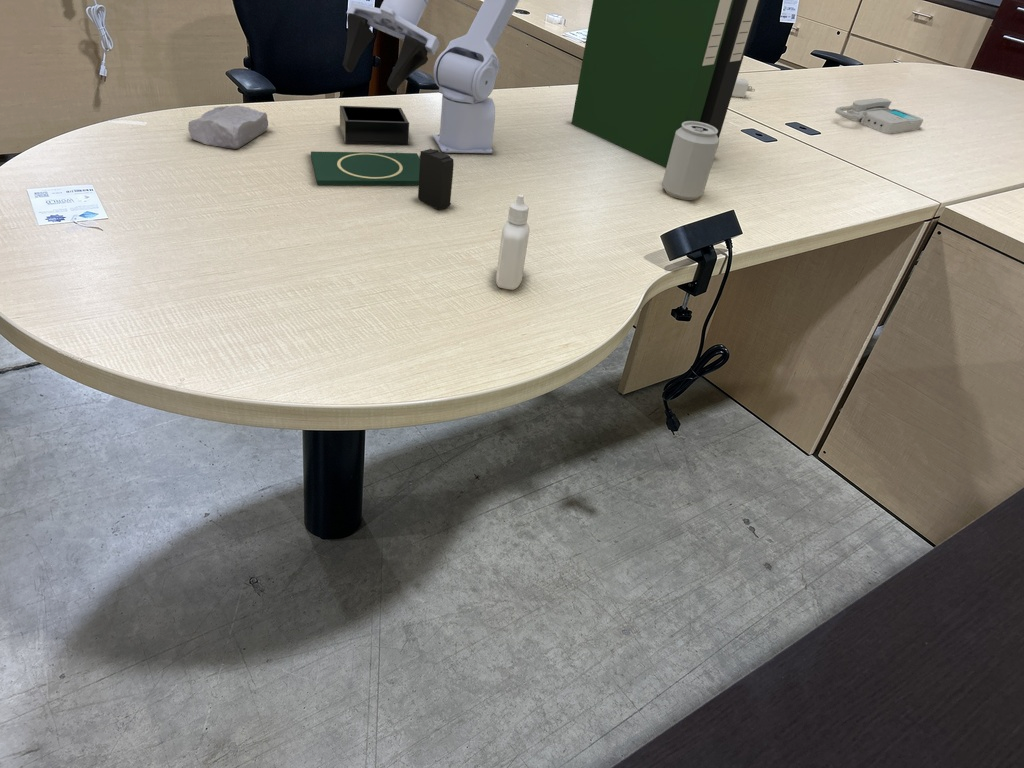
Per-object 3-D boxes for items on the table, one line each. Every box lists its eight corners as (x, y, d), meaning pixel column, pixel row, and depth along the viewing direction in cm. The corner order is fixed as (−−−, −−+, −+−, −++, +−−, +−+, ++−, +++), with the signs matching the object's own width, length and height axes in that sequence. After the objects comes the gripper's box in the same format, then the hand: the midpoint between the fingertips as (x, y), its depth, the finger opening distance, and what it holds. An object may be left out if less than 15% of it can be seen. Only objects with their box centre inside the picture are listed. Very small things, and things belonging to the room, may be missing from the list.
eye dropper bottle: (482, 280, 97) (492, 195, 90) (509, 267, 101) (520, 184, 94) (508, 293, 95) (520, 207, 88) (534, 280, 99) (548, 196, 92)
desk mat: (416, 157, 129) (417, 152, 128) (431, 185, 120) (431, 180, 119) (310, 155, 123) (310, 150, 122) (317, 185, 114) (317, 179, 114)
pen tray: (400, 129, 139) (401, 107, 136) (408, 145, 133) (409, 122, 130) (339, 127, 135) (339, 105, 133) (345, 143, 129) (345, 121, 127)
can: (704, 191, 133) (724, 125, 126) (699, 205, 128) (719, 137, 120) (664, 181, 135) (681, 115, 128) (657, 195, 129) (675, 126, 122)
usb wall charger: (723, 92, 192) (728, 76, 190) (747, 94, 193) (752, 78, 191) (728, 96, 189) (733, 80, 187) (753, 99, 190) (758, 83, 188)
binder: (568, 123, 154) (599, -51, 135) (613, 115, 163) (648, -49, 144) (671, 170, 140) (722, -17, 121) (714, 157, 149) (767, -19, 130)
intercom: (827, 101, 181) (883, 95, 194) (820, 119, 184) (876, 112, 196) (873, 119, 173) (929, 112, 186) (865, 137, 175) (921, 129, 188)
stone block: (186, 150, 122) (241, 150, 120) (178, 121, 120) (233, 120, 118) (224, 132, 132) (274, 131, 130) (216, 104, 129) (268, 103, 127)
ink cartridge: (450, 207, 114) (454, 157, 109) (440, 211, 112) (444, 160, 108) (428, 196, 116) (431, 146, 111) (417, 199, 115) (420, 149, 110)
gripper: (357, -39, 106) (316, 46, 106) (445, -3, 103) (403, 84, 104) (373, -10, 113) (335, 69, 113) (456, 24, 110) (416, 105, 111)
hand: (368, 78), depth 109 cm, fingers open, 7 cm apart
